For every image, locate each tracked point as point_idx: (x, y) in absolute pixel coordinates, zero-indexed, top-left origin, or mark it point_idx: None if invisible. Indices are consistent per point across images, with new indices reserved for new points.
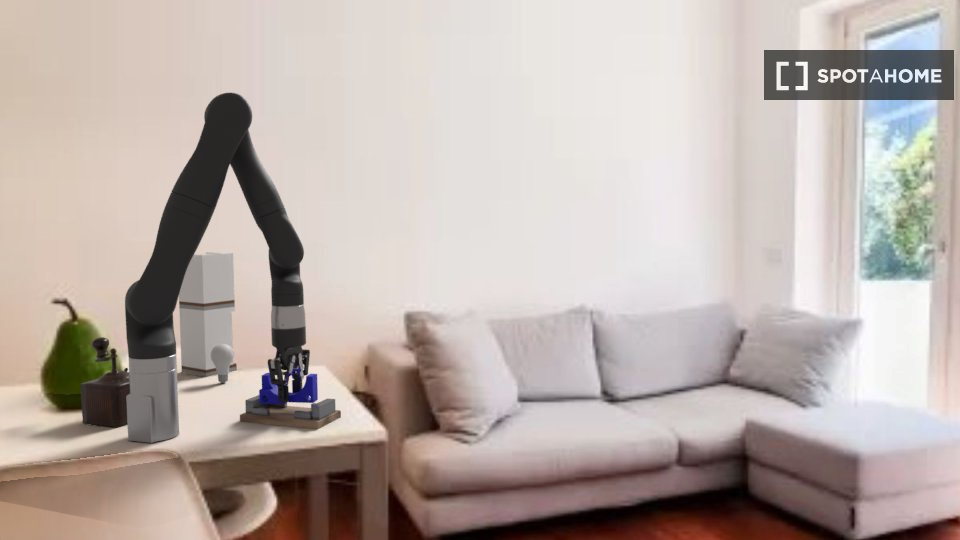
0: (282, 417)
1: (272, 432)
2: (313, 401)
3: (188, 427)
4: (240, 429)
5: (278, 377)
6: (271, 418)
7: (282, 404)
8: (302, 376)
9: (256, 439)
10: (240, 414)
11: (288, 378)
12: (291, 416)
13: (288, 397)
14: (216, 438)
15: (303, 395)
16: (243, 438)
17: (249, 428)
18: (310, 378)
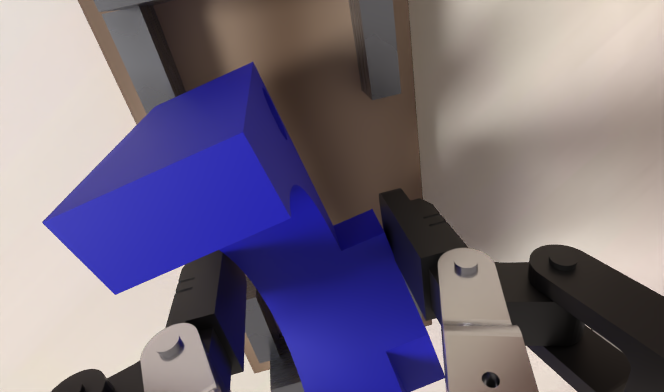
0: (397, 156)
1: (516, 80)
2: (245, 66)
3: (528, 355)
4: (509, 227)
5: (656, 303)
6: (420, 196)
7: (259, 296)
8: (174, 349)
9: (627, 60)
10: (427, 325)
11: (452, 305)
12: (361, 131)
13: (389, 203)
14: (627, 206)
15: (291, 153)
16: (618, 123)
17: (489, 211)
18: (259, 153)
